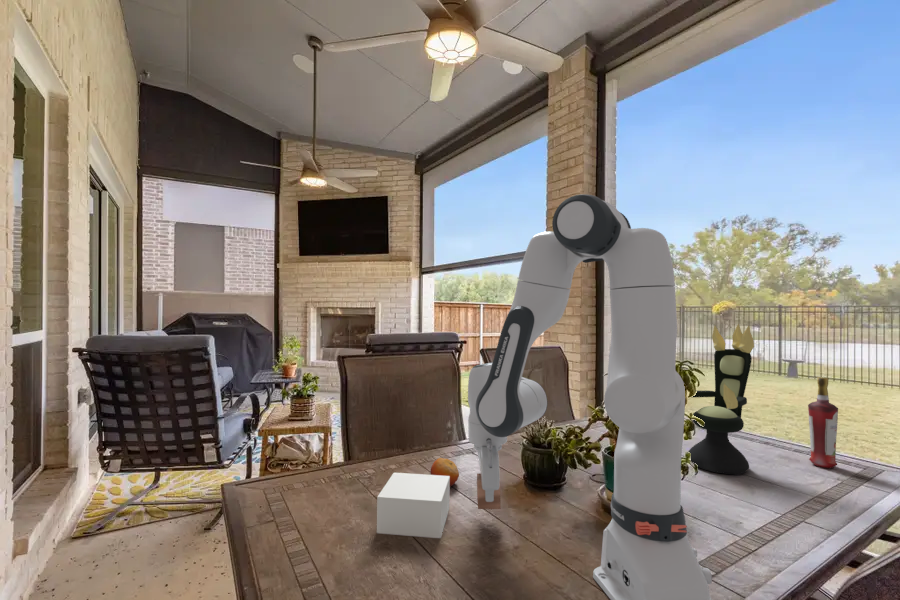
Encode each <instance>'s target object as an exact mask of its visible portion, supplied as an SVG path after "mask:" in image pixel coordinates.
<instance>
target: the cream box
mask: <svg viewBox="0 0 900 600" xmlns="http://www.w3.org/2000/svg"><path fill="white" fill-rule="evenodd" d="M450 488H451V487H450V476H441V475H431V474H426V473H425V474H424V473H423V474H422V473H408V472H407V473H406V472H405V473H404V472H393V473H392V474H391V476H390V478H389V479H388V480H387V482H386V484H384V486H383V488H382V489H381V490H380V492H379V494H378V495H377V497H376V498H377V499H376V500H377V501H376V534H383V535H396V536H407V537H419V538H420V537H421V538H431V539H442V536H443V533H444V530H445V529H444V528H445V525H446V522H447V518H448V514H449V510H450V497H451V495H450V491H451V490H450ZM442 532H443V533H442Z"/></svg>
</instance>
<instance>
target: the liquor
mask: <svg viewBox="0 0 900 600" xmlns="http://www.w3.org/2000/svg"><path fill="white" fill-rule="evenodd" d="M816 380H817V386H818V388H817V396H816V397H817V398H816V401H813V402H810V403H809V404H807V408H808V424H809V425H808V426H809V440H810V441H809V442H810V443H809V445H810V457H809V458H808V460H809V461H810V462H811V463H812V465H813V466H816V467H818V468H823V469H833V468H834V467H836V466H838V462H837V460H836V458H837V457H836V454H837V451H836V450H837V435H838V434H837V433H838V422H839V421H838V419H839V418H838V416H839V408H838V407H837V406H836V405H835V404H833V403H831V402H830V398H829V392H828V387H829V378H828V377H824V376H823V377H822V376H817V379H816Z"/></svg>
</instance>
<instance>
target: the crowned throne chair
mask: <svg viewBox="0 0 900 600" xmlns="http://www.w3.org/2000/svg"><path fill="white" fill-rule="evenodd" d="M731 337H732V343H731V347H732V348H726V344H727V343H726V341H725V339H724V336H722V335H721V333H720V332H719V329H718V328H717V326H716V325H714V326H713V331H712V335H711V339H712V343H713V348H714V350H715V352H714V355H713V356H714V357H713V358H714V359H713V361H714V389H715V390H714V391H713V390H696V391H697V393H696V395H695V396H693V397H692V398H714V405H707V406H703V407H701V408H700V409H698V410H696V411H695V412H693V414H692V415H694V416H696V417H698V418H700V419H702V420H703V421H704V422H705V426H704V427H702V426H700V425H699V424H698V423H697V421H695V420H692V422H693V424H694V425H695V426H697V427H698V428H700V429H702V430H706V435H705V437H704V438H703V439H702V440H701V441H699V442H697V443H695V444H694V445H693V446H692V447H690V448H689V450H688V451H687V453H688V452H690V453H691V461H692V462H694V463H696V464H697V465H698V467H697V468H699V469H702V470H704V471H707V472H708V471H709V472H713V473H717V474H724V475H740V474H745V473H746V472H747V471H749V470H750V464H749V461H748V459H746V457H745V456H744V454H743V453H742V452H741V451H740V450H739V449H738V448H737V447H735V446H734V445H733V444H732V442H730V439H729V434H730V433H731V434H732V433H738V432H740V431H742V430H743V429H744V426H745V423H744V422H745V421H744V420H743V418H742V411H743V406H745V405H747V404H748V398H747V397H746V396H745V393H746V387H747V383H748V380H749V379H748V378H749V375H750V372H751V371H750V370H751V366H752V365H751V364H752V354H751V353H752V351H753V349H754V348H755V342H754V338H753V335H752V333H751V327H750V325H747V327H746V329H745V330H744V331H743V332H742V330H741V326H740V324H739V323H737V325H736V327H735V329H734V330H733V333H732V336H731Z"/></svg>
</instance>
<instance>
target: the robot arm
mask: <svg viewBox="0 0 900 600" xmlns="http://www.w3.org/2000/svg"><path fill="white" fill-rule="evenodd" d="M551 224H552V231H543V232H539V233H537V234H535V235H534V236H532V238H531V239H530V240H529V243H528V246H527V248H526V251H525V253H524V255H523V259H522V263H521V264H520V265H521V266H520V270H519V273H518V278H517V279H518V280H517V284H516V289H515V293H514V297H513V299H512V304H511V307H510V309H509V311H508V314H507V316H506V318H505V320H504V323H503V326H502V329H501V332H500V335H499V339H498V342H497V346H496V349H495V352H494V357H493V360H492V362H487V363H481V364H477V365H474V366H473V367H472V368H471V369H470V371H469V375H468V380H467V381H468V384H467V403H468V406H469V414H468V419H467V424H468V426H467V427H468V430H467V431H468V442H469V443H470V444H472V445H473V448H474V450H476V451H477V455H478V462H479V463H478V464H479V471H480V473H481V482H482V488H483V489H484V490H485V500H486V501H487V502H493V501H494V490H498V489H499V486H500V487H501V478H500V456H499V451H500V450H502V448H503V445H504V444H506V443H507V442H508V437H509V436H511V435H513V433H515V432H517V431H518V430H520V429H522V428H524V427H526V426H528V425H530V424H532V423H535V422H536V421H538V420H539V419H540V418H542V417H543V416H544V415H545V413H546V411H547V408H548V404H549V403H548V396H547V393H546V390H545V389H544V387H543V386H542V385H541V384H540V383H539V382H538V381H536V380H534V379H529V378H527V377H523V375H524V370H525V366H526V363H527V359H528V356H529V352H530V350H531V348H532V346H533V344H534V343H535V341H536V340H537V339H538V338H539V337H540V336H541V335H542V334H544V333H545V332H546V331H547V330H548V329H549V328H551V327H552V326H555V325H556V324H558V322H559V321H561V319H562V317H563V316H564V313H565V310H566V308H567V305H568V302H569V298H570V294H571V288H572V284H573V277H574V275H575V271H576V268H577V266H579V264H580V263H581V262H582V263H585V264H588V263H593V262H599V261H600V262H601V261H604V262H605V264H606V266H607V269H608V277H609V278H608V279H609V299H610V302H609V303H610V321H611V322H610V324H611V325H610V326H611V328H610V329H611V330H610V331H611V334H610V335H611V336H610V346H609V354H608V364H607V365H608V366H607V381H606V388H605V392H604V397H603V398H604V399H603V403H604V409H605V412H606V414H607V416H608V417H609V418H610V421H612V423H613V424H615V425H616V426H617V427H619V429H618V434H617V440H616V445H615V449H614V453H613V454H614V456H613V458H614V459H613V462H614V463H613V465H614V466H613V467H614V469H613V493H612V495H611V499H610V500H611V501H610V515H611V521H610V522H609V524H608V525H607V526H606V527H605V528H604V529H603V532H602V533H603V534H602V545H601V546H602V547H601V556H600V557H601V560H600V566H598V567H596V568H594V570H593V572H592V574H593V575H592V578H593V579H594V581H595V582H596V583H597V585H598V586H599V587H600V588H601V590H603V592H604V593H605V594H606V596H607V597H608V598H609V599H610V600H713V598H712V597H711V592H710V588H709V585H711V584H712V582H713V578H712V573H711V570H710V569H709V568H708V567H702V566H701V565H700V563H699V561H698V551H697V549H696V548H695V547H692V546H691V542H690V540H689V538H688V537H687V533H688V530H687V527H688V526H687V524H686V523H687V521H686V516H685V514H684V507H683V505H682V504H681V501H682V497H681V495H682V494H681V493H682V485H681V484H682V482H681V481H682V479H681V478H682V477H681V476H682V475H681V474H682V470H681V469H682V456H683V455H682V454H683V443H684V442H683V441H684V439H683V438H684V427H685V412H686V411H685V408H686V397H685V386H684V384H685V382H684V381H683V379H682V377H681V375H680V374H679V372H677V370H676V365H677V364H676V361H677V360H676V359H677V356H676V355H677V339H678V338H677V337H678V319H677V318H678V317H677V316H678V315H677V299H676V298H677V297H676V296H677V295H676V282H675V272H674V267H673V266H674V265H673V260H672V256H671V252H670V251H671V250H670V248H669V245H668V240H667V238H666V237H665V235H664V234H663V233H661V232H660V231H658V230H656V229H652V228H648V227H647V228H646V227H640V228H639V227H637V228H632V227H631V224H630V222H629V219H628V217H626V216H625V215H624V214H623V213H622V212H621V211H619V210H618V209H617V208H616V207H615V206H614V205H613V204H612V203H610V202H608V201H607V200H603V199H601V198H600V197H598V196H596V195H593V194H584V193H583V194H581V193H580V194H575V195H573V196H570V197H568V198H566V199H565V200H564V201H562V202H561V203H560V204H559V205H558V207H557V208H556V210H555V211H554V214H553V217H552V223H551Z"/></svg>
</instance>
